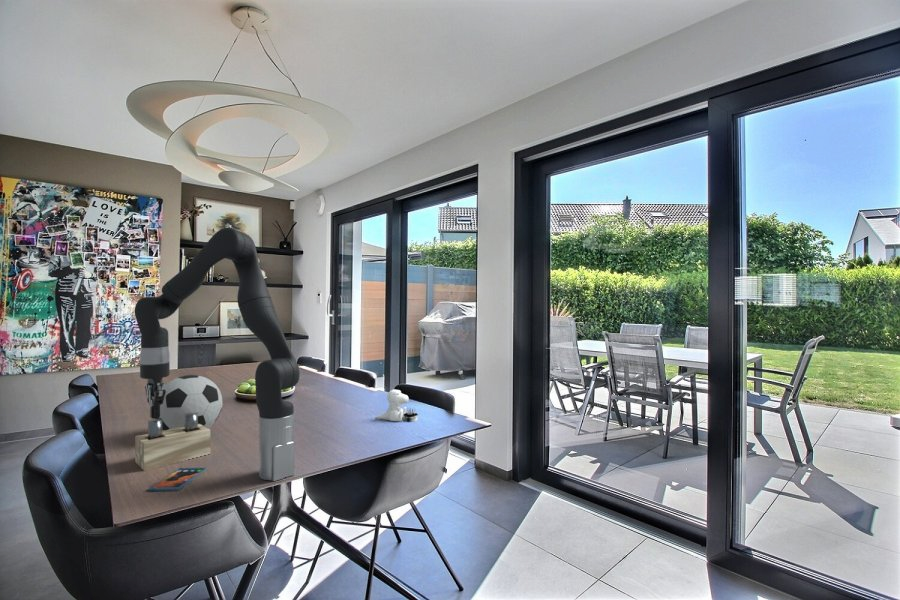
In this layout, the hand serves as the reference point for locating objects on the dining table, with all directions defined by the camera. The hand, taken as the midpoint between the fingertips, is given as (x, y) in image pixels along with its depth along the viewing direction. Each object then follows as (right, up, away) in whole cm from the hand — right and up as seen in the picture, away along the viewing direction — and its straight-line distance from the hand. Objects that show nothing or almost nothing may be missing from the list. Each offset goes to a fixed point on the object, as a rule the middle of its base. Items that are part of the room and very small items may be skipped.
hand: (155, 417), depth 134 cm
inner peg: (+7, -8, +7) cm, 13 cm away
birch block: (+3, -14, +4) cm, 15 cm away
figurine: (+69, -14, +48) cm, 85 cm away
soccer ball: (-6, -14, +27) cm, 31 cm away
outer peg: (0, -8, 0) cm, 8 cm away
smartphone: (+15, -15, -12) cm, 24 cm away
